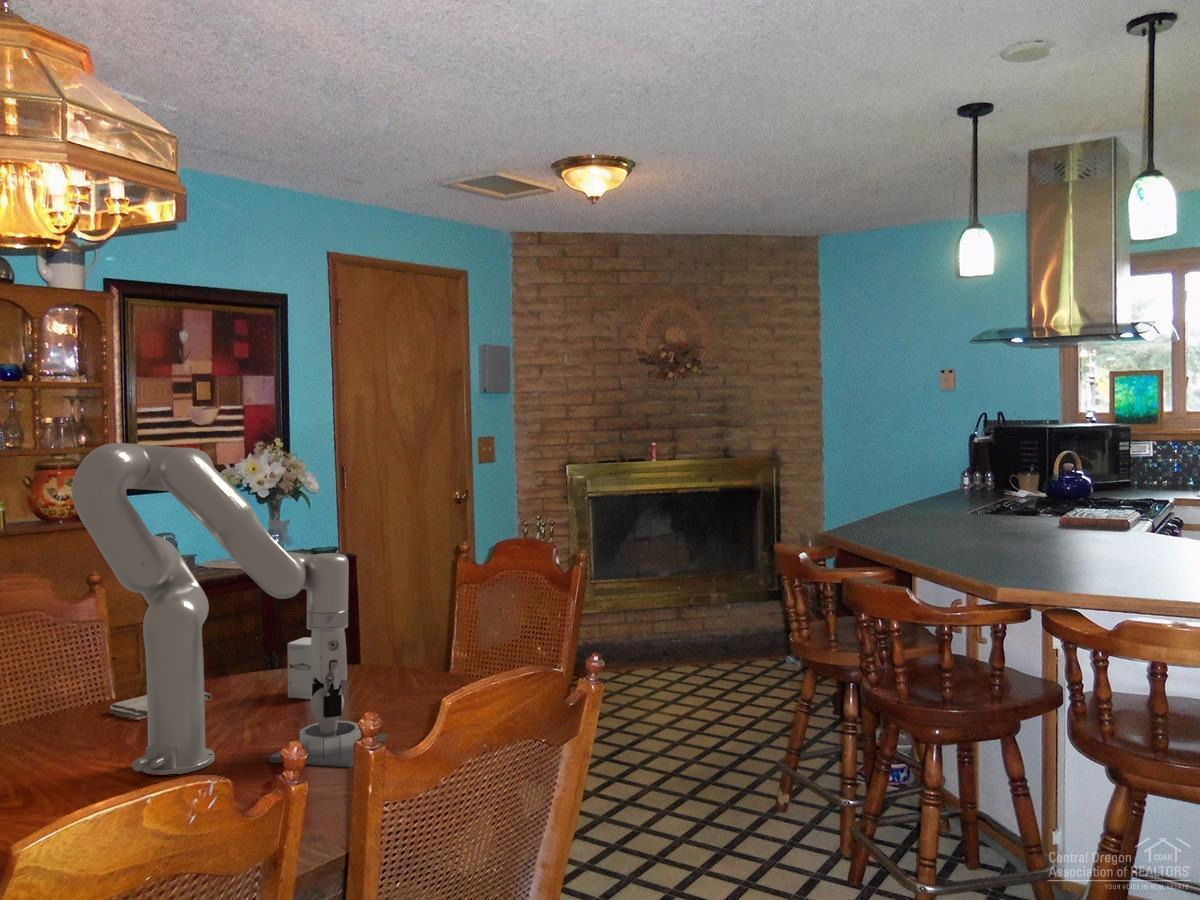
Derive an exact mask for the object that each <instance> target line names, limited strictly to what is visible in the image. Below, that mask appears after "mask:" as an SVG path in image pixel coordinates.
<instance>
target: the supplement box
mask: <svg viewBox="0 0 1200 900" xmlns="http://www.w3.org/2000/svg"><path fill="white" fill-rule="evenodd" d="M312 678H313V674H312V672H311V637H301V638H298V639H295V640H293V641H289V642H287V698H288V699H302V700H303V699H305V700H311V699H312V683H313V681H312ZM329 679H332V678H329Z"/></svg>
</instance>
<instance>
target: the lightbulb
mask: <svg viewBox="0 0 1200 900" xmlns="http://www.w3.org/2000/svg"><path fill="white" fill-rule="evenodd" d="M329 688H330V687H329ZM324 696H326V695H325V688H324V687H323V688H321V689H319V690H318V691H316V692H315V694H314V695H313V697H312V699H310V710H311V712H312V714H313V715H314V717H315V719H316V720H317V723H319V726H320V732H321V733H322V734H321V735H322V737H332V736H336V730H337V723H338V721H339V718H340V716H338V717H330V718H325V717H324V716H323V700H324ZM344 704H345V699H344V695H343V694H342V710H343V709H344V706H345V705H344Z"/></svg>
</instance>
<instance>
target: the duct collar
mask: <svg viewBox="0 0 1200 900" xmlns="http://www.w3.org/2000/svg"><path fill="white" fill-rule="evenodd" d="M358 724H359V723H357V722H354V721H350V720H338V723H337V730H336V736H332V737H322V735H321V734H322V733H321V732H320V726H319V723H318V722H315V723H312V724H309V725H306V726H305V727H303V728H301V729H300V730H299V738H297V739H296V740H295V741H300V742H301V743H302V744H303V746H304V748H305V750H306V751H307V753H308V762H307V765H306V766H320V767H321V766H322V767H334V768H335V767H336V768H337V767H338V768H349V769H351V768H352V767H353V766H354V765H353V764H354V743H355V742H356V741H357V740H358V739H360V738H361V737H362V735H361V733H362V730H361V731H360V729H359V726H358ZM378 734H379V735H378V736H377V737H379V738H377V737H376V738H377V739H378V740H380V741H382V740H384V741H385V738H386V737H388V736H389V735H388V733H387V734H384V733H378ZM388 738H389V737H388ZM385 742H386V741H385ZM268 760H269V763H271V764H272V763H273V764H275V763H276V764H283V763H282V761H281V758H280V750H278V751H277V752H275V753H273V754H271V755H270V756H269V758H268Z"/></svg>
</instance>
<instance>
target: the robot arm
mask: <svg viewBox="0 0 1200 900" xmlns="http://www.w3.org/2000/svg"><path fill="white" fill-rule="evenodd" d="M128 489H129V490H130V489H131V490H132V489H133V490H135V489H136V490H147V491H163V492H164V491H165V492H169V493H170V494H171V495H172V496H173V497H174V498H175V499H176V500H177V501H178V502H179V503H180V504H181V505H182V506H183V507H184V508H185V509H186V510H187V511H188V512H189V513H190V514H191V515H192V516H193V517H194V518H195V519H196V520H197V521H198V522H199V523H200V524H201V525H202V526H203V527H204V528H205V529H206V530H207V531H208V532H209V533H210V534H211V535H212V536H213V537H214V538H215V540H216V541H217V543H218V544H219V545H220V546H221V547H222V548H223V549H224V550H225V551H226V553H228V555H229V556H230V557H231V558H232V559H233V560H234V561H235V563H236V564H237V565H238V566H239V567H240V568H241V570H243V572H244V573H246V575H248V576H249V578H250V579H252V580H253V582H255V584H256V585H258V586H259V587H260V589H262V590H263V591H264V592H265V593H266V594H268V595H270V596H271V597H273V598H276V599H279V600H280V599H281V600H284V599H291V598H292V597H294V596H296V595H297V594H299V593H300V592H301V590H306V629H307V630H309V631H311V637H310V638H311V672H312V674H313V678H312V681H313V683H312V697H313V695H314V694H315V692H316V691H318V690H319V689H321V688H323V687H324V688H325V695H326V696H324V700H323V716H324V717H325V718H330V717H338V716H339V717H341V716H342V712H343V709H342V695H343V694H342V692H343V691H342V683H341V682H344V683H345V682H346V681H347V679H348V668H347V667H348V665H347V663H348V662H347V643H346V641H347V639H346V632H345V629H347V628H348V627H349V578H350V577H349V573H350V572H349V570H350V569H349V568H350V565H349V559H348V557H347V556H346V555H345V554H342V553H335V552H327V553H325V552H323V553H317V554H316V553H315V554H310V553H301V552H293V551H292V552H291V551H290V552H289V551H286V550H285V549H284V548H283V547H282V546H281V545H280V544H279V543H278V542H277V540H275V539H274V538H273V537H272V535H271V534H270V533H269V532H268V530H266V527H264V525H263V524H262V523H261V521H260V519H259V517H258V515H257V513H256V511H255V509H254V507H253V506H252V505H251V503H250V502H249V501H248V500H247V499H246V498H245V497H244V496H243V495H242V494H241V493H240V492H239V491H238V490H237V489H236V488H235V487H234V486H233V485H232V484H231V483H230V482H229V481H228V480H227V479H226V478H225V477H224V476H223V475H222V474H221V473H220V472H219V471H218V470H217V468H215V466H214V462H213V461H212V459H211V457H210V456H209V455H208V453H206V452H205V451H203V450H200V449H198V448H194V447H179V446H178V447H177V446H176V447H175V446H164V445H163V446H160V445H151V444H150V445H149V444H142V443H141V444H138V443H126V442H121V443H119V442H115V443H114V442H113V443H107V444H103V445H100V446H98V447H96V448H95V449H92V450H91V451H90V452H89V453H88V454H87V455H86V456H85V457H84V458H83V459H82V461H81V462H80V463H79V465H78V467H77V469H76V471H75V473H74V476H73V479H72V484H71V499H72V503H73V505H74V509H75V512H76V513H77V516H78V517H79V519H80V521H81V522H82V525H83V526H84V527H85V529H86V530H87V532H88V534H89V535H90V537H91V538H92V540H93V541H94V543H95V545H96V546H97V549H98V550H99V552H100V553H101V555H102V557H103V558H104V560H105V561H106V563H107V565H108V566H109V567H110V568H111V571H112V572H113V574H114V576H115V577H116V579H117V580H118V582H119V583H120V585H121V586H122V587H123V588H125V589H126V590H127V591H129V592H132V593H136V594H141V596H142V597H143V598H144V600H145V601H146V603H147V605H148V607H147V608H146V611H145V613H144V617H143V621H142V622H143V623H142V632H143V633H142V634H143V643H144V650H145V651H144V653H145V668H146V671H145V672H146V695H147V713H148V719H147V746H146V747H145V754H143V756H141V757H139V758H137V759H135V760H134V761H133V762H132V763H131V765H132V766H131V768H132V769H133V770H134V771H135V772H141V771H143V772H146V773H153V774H176V773H177V774H178V775H183V774H189V773H192V772H195V771H200V770H202V769H204V768H207V767H209V766H210V765H211V764H212V763H213V762H214V761H215V757H216V756H215V755H216V754H215V752H214V751H213V750H212V749H210V748H206V715H205V713H206V712H205V705H206V703H205V700H204V692H205V674H204V673H205V671H204V670H205V666H204V647H203V625H204V624H205V621H206V620H207V618H208V615H209V610H210V609H209V607H210V605H209V600H208V597H207V595H206V594H205V593H206V592H205V591H204V589H203V588H202V587H201V585H200V583H199V582H198V580H197V578H196V577H195V575H194V574H193V572H192V571H191V569H190V568H189V566H188V564H187V563H186V561H185V560H184V558H183V556H182V555H181V553H180V552H179V551H178V550H177V548H176V547H175V546H174V545H173V544H172V543H171V542H170V541H169V540H167V539H166V538H163V537H161V536H156V535H153V534H152V533H151V530H149V528H148V527H147V525H146V524H145V522H144V521H143V519H142V516H141V515H140V514H139V511H137V509H136V508H135V507H134V505H133V504H132V503H131V501H130V500H129V498H128V494H127V490H128ZM329 678H332V679H329ZM329 687H330V688H329ZM140 770H141V771H140Z"/></svg>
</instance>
